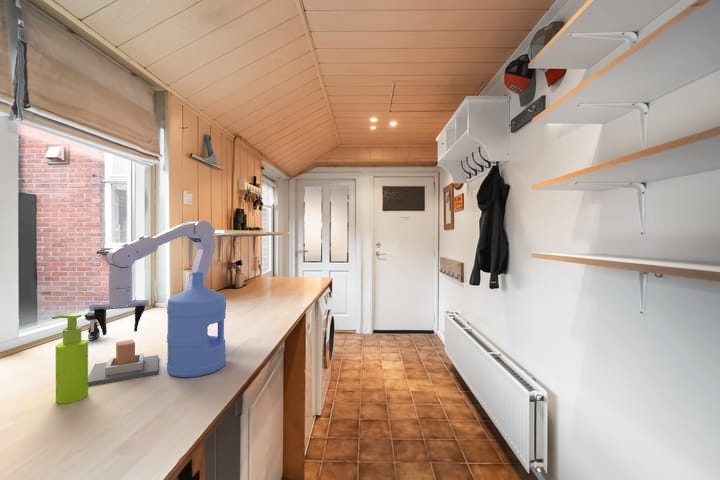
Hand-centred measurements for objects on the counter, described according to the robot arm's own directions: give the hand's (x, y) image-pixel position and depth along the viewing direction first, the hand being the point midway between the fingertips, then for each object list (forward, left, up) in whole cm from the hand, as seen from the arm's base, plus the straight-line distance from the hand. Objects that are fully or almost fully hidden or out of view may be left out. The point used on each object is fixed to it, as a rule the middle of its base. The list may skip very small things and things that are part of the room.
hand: (120, 332), depth 102 cm
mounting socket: (-2, +7, -9) cm, 12 cm away
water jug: (-20, +14, -10) cm, 26 cm away
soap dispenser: (+8, +20, -10) cm, 24 cm away
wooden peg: (-2, +7, -8) cm, 11 cm away
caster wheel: (+11, -33, -10) cm, 36 cm away
